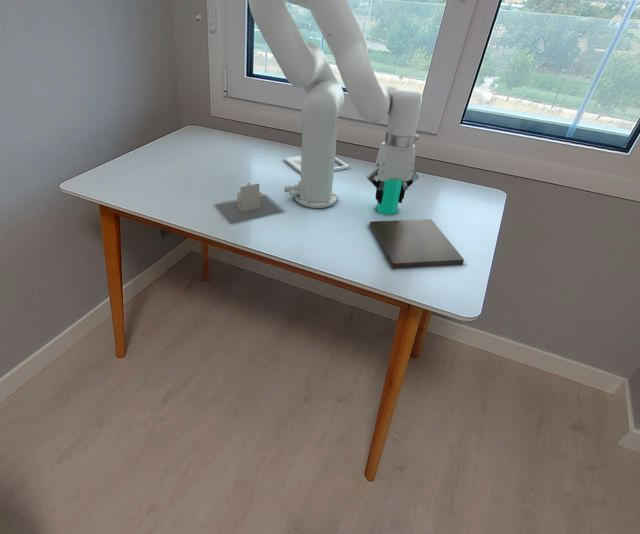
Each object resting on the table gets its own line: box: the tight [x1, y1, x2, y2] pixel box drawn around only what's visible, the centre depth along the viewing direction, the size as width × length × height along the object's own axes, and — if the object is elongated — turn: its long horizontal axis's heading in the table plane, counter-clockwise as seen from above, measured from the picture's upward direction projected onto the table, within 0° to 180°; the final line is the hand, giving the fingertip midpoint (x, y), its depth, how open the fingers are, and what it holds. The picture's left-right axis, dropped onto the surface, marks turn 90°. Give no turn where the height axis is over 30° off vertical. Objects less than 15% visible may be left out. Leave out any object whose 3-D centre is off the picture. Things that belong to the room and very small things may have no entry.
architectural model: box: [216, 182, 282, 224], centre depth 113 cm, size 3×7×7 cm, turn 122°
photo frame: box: [284, 155, 350, 174], centre depth 144 cm, size 15×1×18 cm
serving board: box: [368, 218, 465, 270], centre depth 104 cm, size 18×20×2 cm
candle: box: [375, 179, 402, 216], centre depth 116 cm, size 6×6×12 cm
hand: (388, 200), depth 118 cm, fingers closed on candle, 5 cm apart
